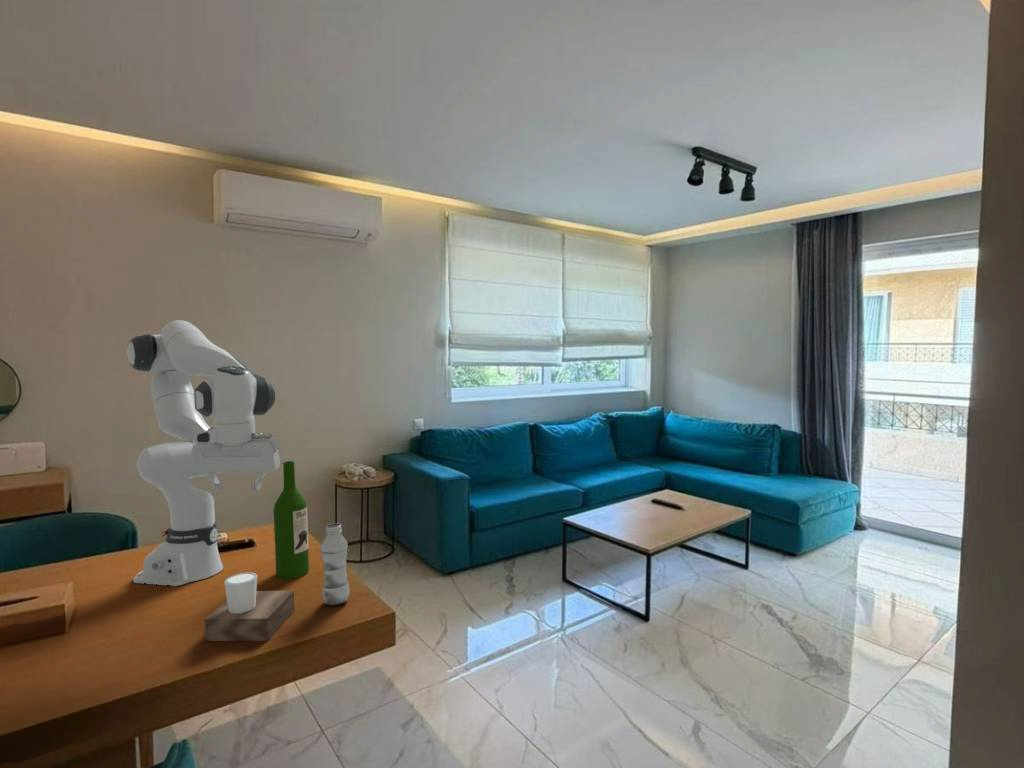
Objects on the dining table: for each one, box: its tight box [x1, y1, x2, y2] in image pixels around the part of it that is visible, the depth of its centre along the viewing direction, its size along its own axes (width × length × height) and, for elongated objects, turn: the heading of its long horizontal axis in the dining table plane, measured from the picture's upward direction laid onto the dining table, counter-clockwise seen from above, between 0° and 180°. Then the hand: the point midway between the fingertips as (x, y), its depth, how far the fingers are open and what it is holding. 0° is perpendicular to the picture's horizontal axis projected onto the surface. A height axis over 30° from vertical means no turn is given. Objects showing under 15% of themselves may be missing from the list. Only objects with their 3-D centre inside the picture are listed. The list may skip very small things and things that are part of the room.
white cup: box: [223, 572, 258, 614], centre depth 123 cm, size 7×7×7 cm
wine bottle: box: [273, 460, 310, 580], centre depth 155 cm, size 9×9×32 cm
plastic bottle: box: [320, 522, 350, 606], centre depth 136 cm, size 6×7×20 cm
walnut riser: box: [204, 590, 295, 642], centre depth 126 cm, size 14×14×5 cm
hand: (237, 489), depth 131 cm, fingers open, 8 cm apart
